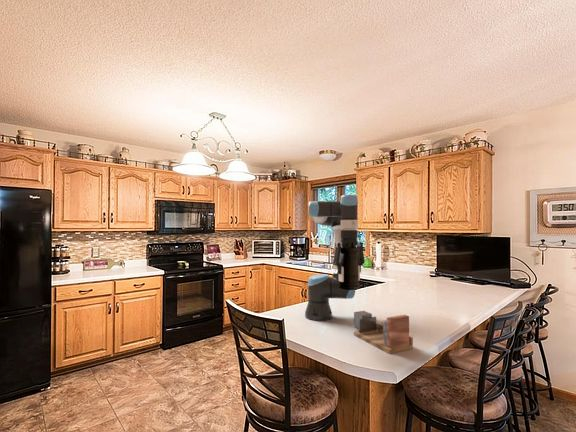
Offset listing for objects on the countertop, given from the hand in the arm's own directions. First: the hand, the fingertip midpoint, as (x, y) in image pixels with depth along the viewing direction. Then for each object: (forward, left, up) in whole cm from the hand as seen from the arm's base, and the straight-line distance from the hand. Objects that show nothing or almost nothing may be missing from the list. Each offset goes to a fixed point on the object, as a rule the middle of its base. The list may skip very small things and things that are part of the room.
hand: (349, 280), depth 137 cm
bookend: (-7, +13, -25) cm, 30 cm away
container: (0, 0, -3) cm, 3 cm away
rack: (+6, +13, -27) cm, 31 cm away
